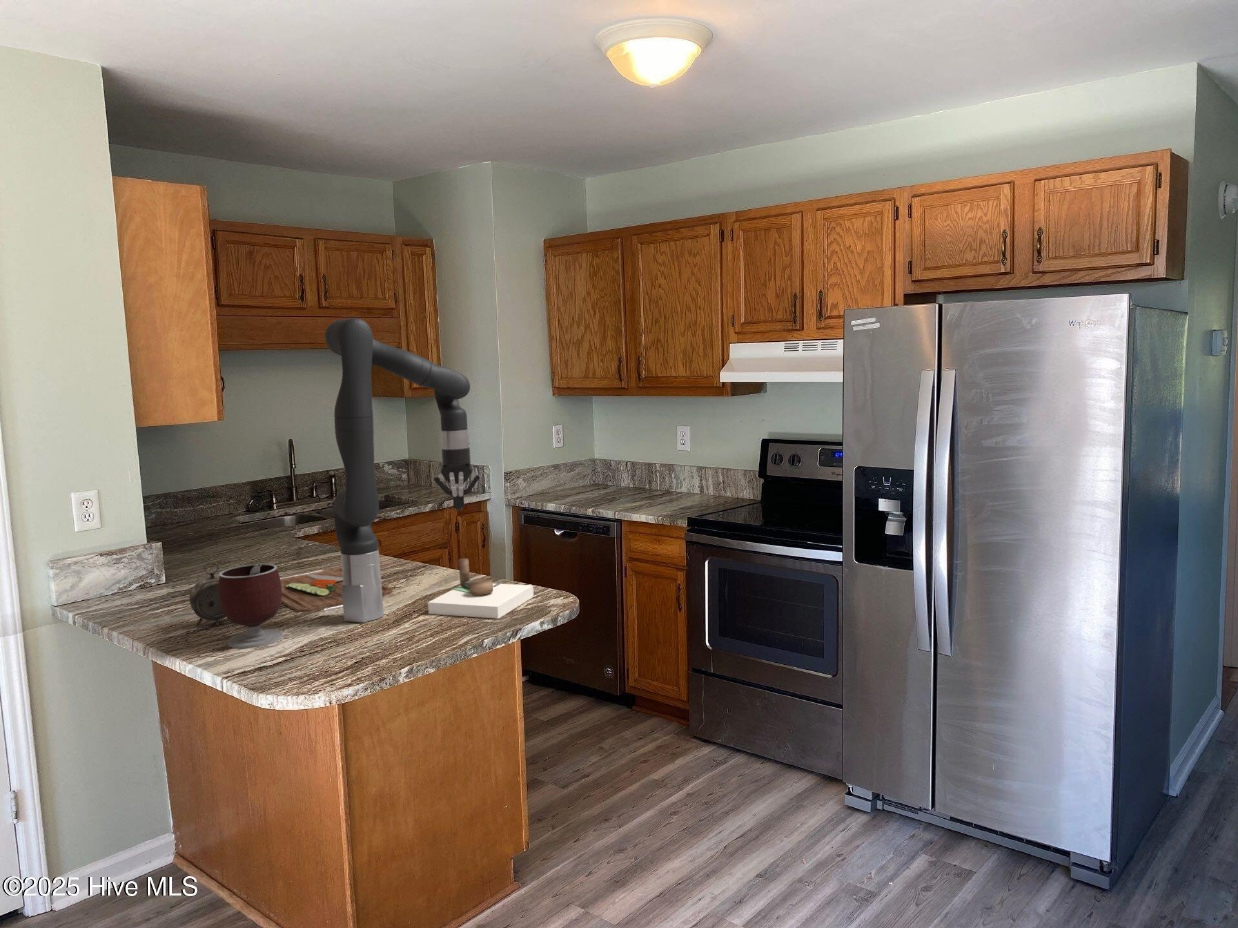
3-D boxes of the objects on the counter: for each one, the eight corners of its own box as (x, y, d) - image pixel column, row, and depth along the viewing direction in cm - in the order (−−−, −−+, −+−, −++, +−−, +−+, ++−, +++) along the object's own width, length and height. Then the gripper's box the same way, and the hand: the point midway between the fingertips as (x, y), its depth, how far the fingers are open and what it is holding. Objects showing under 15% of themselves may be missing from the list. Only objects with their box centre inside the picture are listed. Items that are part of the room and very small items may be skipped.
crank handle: (497, 591, 236) (495, 564, 235) (476, 595, 233) (474, 569, 232) (473, 582, 247) (471, 556, 246) (453, 586, 243) (451, 560, 242)
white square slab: (498, 618, 225) (497, 605, 224) (428, 613, 232) (427, 601, 231) (533, 596, 243) (532, 584, 243) (468, 592, 250) (467, 580, 250)
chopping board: (251, 586, 271) (250, 576, 271) (338, 569, 287) (338, 560, 287) (304, 617, 236) (302, 606, 235) (399, 596, 252) (399, 585, 252)
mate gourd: (216, 640, 218) (207, 559, 215) (274, 627, 227) (266, 548, 224) (237, 655, 206) (227, 569, 203) (297, 640, 215) (289, 558, 212)
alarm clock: (237, 616, 237) (231, 556, 235) (241, 621, 233) (235, 560, 231) (192, 625, 231) (185, 563, 229) (195, 630, 227) (188, 567, 225)
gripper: (428, 449, 242) (432, 513, 244) (478, 447, 242) (482, 510, 244) (432, 446, 249) (436, 508, 251) (481, 444, 250) (484, 506, 252)
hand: (459, 509), depth 248 cm, fingers closed
